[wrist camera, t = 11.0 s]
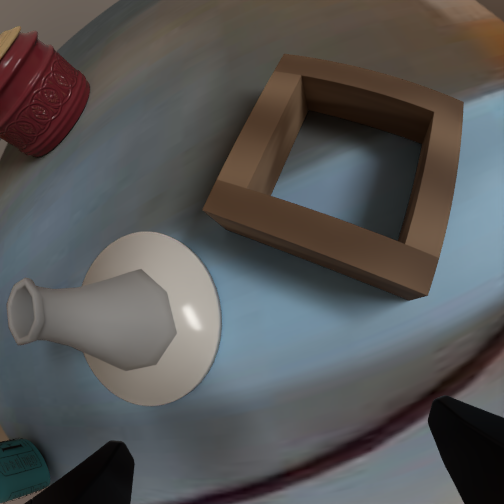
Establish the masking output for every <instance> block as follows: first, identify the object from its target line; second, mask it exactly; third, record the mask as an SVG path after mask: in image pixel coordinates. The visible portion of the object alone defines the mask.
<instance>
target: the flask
mask: <svg viewBox="0 0 504 504" xmlns="http://www.w3.org/2000/svg"><path fill="white" fill-rule="evenodd" d="M7 314H8V324H9V329H10V331H11V333H12V335H13V337H14V339H15V341H16V343H17V345H24V344H28V343H31V342H34V341H36V340H47V341H51V342H55V343H59V344H63V345H67V346H71V347H73V348H75V349H77V350H79V351H82V352H84V353H86V354H88V355H91V356H93V357H95V358H98V359H100V360H102V361H104V362H106V363H108V364H110V365H112V366H115V367H117V368H119V369H122V370H124V371H129V370H134V369H139V368H144V367H148V366H153V365H156V364H157V363H158V361H159V360H160V358H161V357H162V355H163V354H164V352H165V351H166V349H167V348H168V346H169V345H170V343H171V342H172V340H173V339H174V337H175V336H176V334H177V331H176V327H175V323H174V319H173V315H172V311H171V307H170V302H169V298H168V294H167V292H166V291H165V290H164V289H163V288H162V287H161V286H160V285H158V284H157V283H156V282H155V281H154V280H153V279H152V278H151V277H150V276H149V275H147V274H146V273H145V272H144V271H143V270H142V269H138V270H135V271H131V272H128V273H125V274H122V275H119V276H116V277H113V278H110V279H107V280H103V281H100V282H96V283H92V284H89V285H85V286H82V287H78V288H64V289H49V288H43V287H38V286H36V285H35V284H34V282H33V281H32V280H31V279H29V278H24V279H22V280H21V281H19V282H18V283H16V284H15V285H14V286H13V288H12V291H11V294H10V296H9V299H8V302H7Z"/></svg>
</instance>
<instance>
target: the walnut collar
mask: <svg viewBox="0 0 504 504" xmlns="http://www.w3.org/2000/svg"><path fill="white" fill-rule="evenodd" d="M463 103H464V102H462V101H460V100H457V99H455V98H453V97H450V96H448V95H445V94H443V93H440V92H438V91H435V90H432V89H429V88H427V87H424V86H421V85H418V84H415V83H412V82H409V81H406V80H403V79H400V78H396V77H393V76H390V75H386V74H383V73H379V72H375V71H372V70H368V69H364V68H360V67H355V66H351V65H347V64H342V63H337V62H332V61H327V60H321V59H316V58H310V57H303V56H297V55H289V54H284V55H283V57H282V58H281V60H280V62H279V64H278V65H277V67H276V69H275V70H274V72H273V74H272V76H271V77H270V79H269V81H268V83H267V85H266V86H265V88H264V90H263V92H262V94H261V95H260V97H259V99H258V101H257V103H256V104H255V106H254V108H253V110H252V112H251V114H250V116H249V117H248V119H247V121H246V123H245V125H244V127H243V129H242V131H241V133H240V134H239V136H238V138H237V140H236V142H235V144H234V146H233V148H232V150H231V152H230V154H229V156H228V158H227V160H226V162H225V164H224V166H223V168H222V170H221V172H220V174H219V176H218V178H217V180H216V182H215V184H214V186H213V188H212V190H211V192H210V195H209V197H208V199H207V201H206V203H205V205H204V207H203V209H202V210H203V211H204V212H205V213H206V214H208V215H209V216H210V217H211V218H213V219H214V220H215V221H216V222H217V223H219V224H220V225H221V226H222V227H224V228H225V229H226V230H229V231H231V232H234V233H237V234H239V235H242V236H245V237H247V238H250V239H252V240H255V241H258V242H260V243H263V244H266V245H268V246H271V247H273V248H276V249H279V250H281V251H284V252H287V253H289V254H292V255H294V256H297V257H300V258H302V259H305V260H307V261H310V262H312V263H315V264H318V265H320V266H323V267H325V268H328V269H330V270H333V271H336V272H338V273H341V274H343V275H346V276H348V277H351V278H354V279H356V280H359V281H361V282H364V283H366V284H369V285H371V286H374V287H376V288H379V289H381V290H384V291H386V292H389V293H392V294H394V295H397V296H399V297H402V298H404V299H407V300H409V301H410V300H414V299H417V298H421V297H424V296H428V293H429V290H430V287H431V284H432V281H433V277H434V274H435V271H436V267H437V264H438V260H439V257H440V253H441V249H442V245H443V241H444V237H445V233H446V229H447V224H448V220H449V215H450V210H451V205H452V200H453V194H454V189H455V183H456V176H457V169H458V162H459V154H460V145H461V135H462V122H463ZM308 110H310V111H315V112H319V113H323V114H327V115H331V116H335V117H339V118H342V119H346V120H350V121H353V122H357V123H360V124H364V125H367V126H370V127H373V128H377V129H380V130H383V131H386V132H389V133H392V134H395V135H398V136H401V137H404V138H406V139H409V140H412V141H415V142H417V143H420V144H422V147H421V152H420V157H419V161H418V166H417V170H416V175H415V179H414V183H413V187H412V191H411V195H410V199H409V203H408V207H407V210H406V214H405V218H404V221H403V225H402V228H401V231H400V235H399V238H398V241H396V240H393V239H391V238H388V237H386V236H383V235H380V234H378V233H375V232H373V231H370V230H367V229H365V228H362V227H359V226H357V225H354V224H351V223H348V222H346V221H343V220H340V219H337V218H334V217H332V216H329V215H326V214H323V213H320V212H317V211H314V210H312V209H309V208H306V207H303V206H300V205H297V204H294V203H291V202H288V201H285V200H282V199H279V198H276V197H272V196H271V194H272V192H273V189H274V187H275V185H276V182H277V180H278V178H279V176H280V173H281V171H282V169H283V167H284V164H285V162H286V160H287V157H288V155H289V153H290V151H291V148H292V146H293V144H294V142H295V139H296V137H297V135H298V133H299V130H300V128H301V126H302V124H303V121H304V119H305V117H306V115H307V112H308Z"/></svg>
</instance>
